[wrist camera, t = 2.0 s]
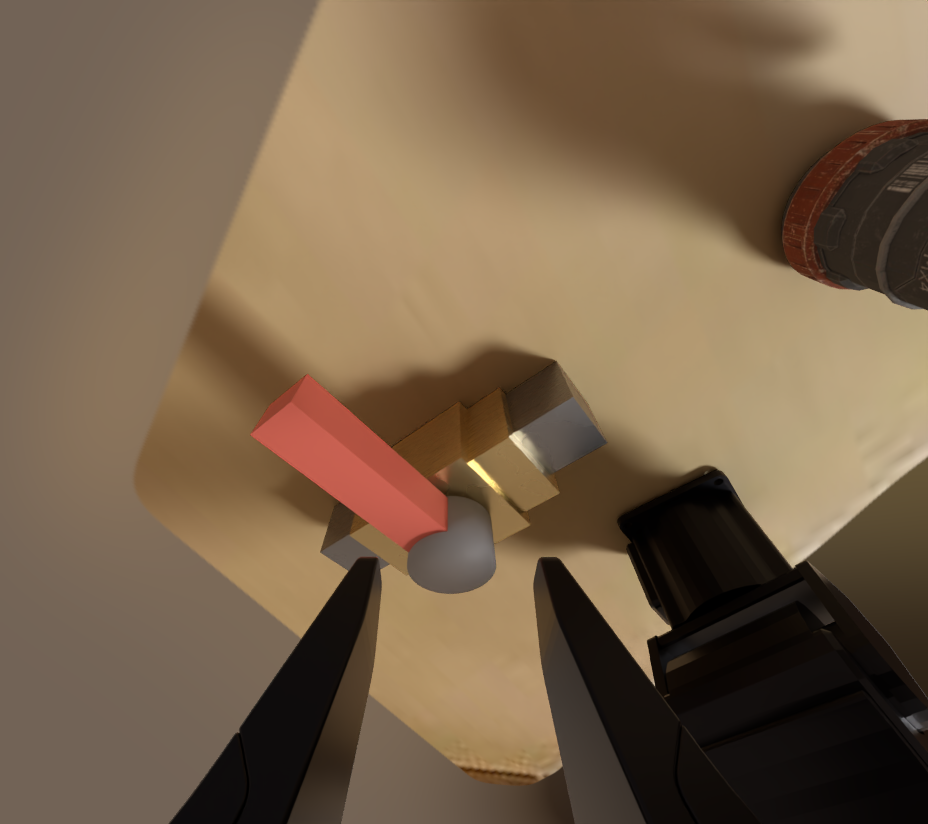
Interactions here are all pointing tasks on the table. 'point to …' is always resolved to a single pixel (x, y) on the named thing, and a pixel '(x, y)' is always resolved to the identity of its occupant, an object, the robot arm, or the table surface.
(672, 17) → the table surface
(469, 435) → the valve pipe
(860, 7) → the table surface
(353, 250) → the table surface
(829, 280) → the grenade
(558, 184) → the table surface
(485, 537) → the lever
